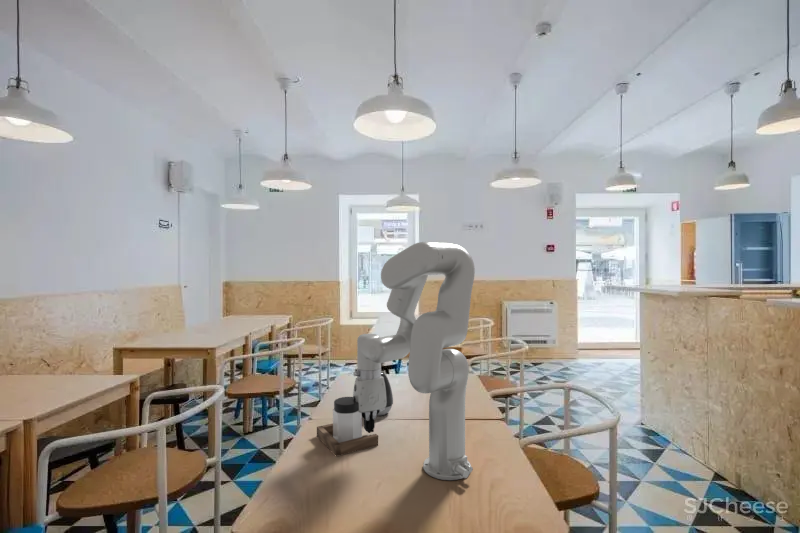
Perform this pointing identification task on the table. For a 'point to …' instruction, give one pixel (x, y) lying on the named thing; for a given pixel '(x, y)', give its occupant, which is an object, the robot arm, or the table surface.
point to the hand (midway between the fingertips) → (369, 430)
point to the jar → (346, 419)
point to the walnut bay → (346, 446)
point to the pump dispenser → (387, 396)
